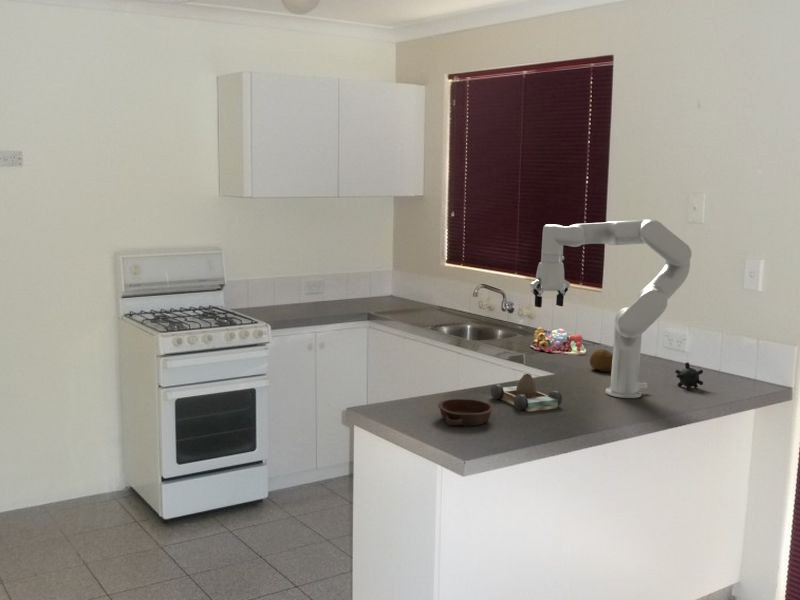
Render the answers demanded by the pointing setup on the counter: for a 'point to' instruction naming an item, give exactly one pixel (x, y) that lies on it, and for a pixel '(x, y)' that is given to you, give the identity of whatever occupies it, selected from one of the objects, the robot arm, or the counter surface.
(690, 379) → the toy ball
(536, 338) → the pastel sphere sculpture
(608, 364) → the potato
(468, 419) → the dish
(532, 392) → the brown ovoid
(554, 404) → the cart chassis
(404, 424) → the counter surface
